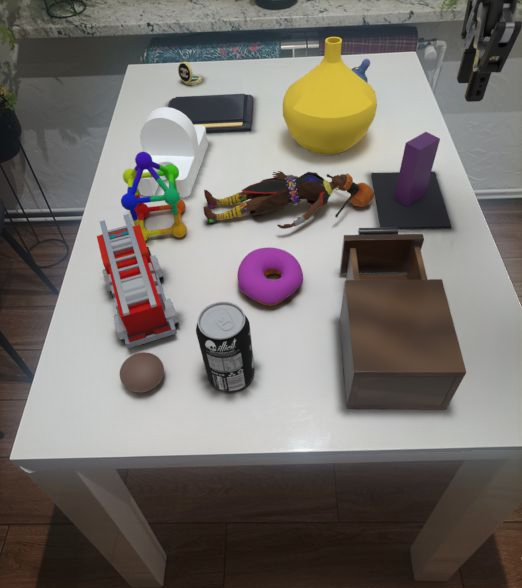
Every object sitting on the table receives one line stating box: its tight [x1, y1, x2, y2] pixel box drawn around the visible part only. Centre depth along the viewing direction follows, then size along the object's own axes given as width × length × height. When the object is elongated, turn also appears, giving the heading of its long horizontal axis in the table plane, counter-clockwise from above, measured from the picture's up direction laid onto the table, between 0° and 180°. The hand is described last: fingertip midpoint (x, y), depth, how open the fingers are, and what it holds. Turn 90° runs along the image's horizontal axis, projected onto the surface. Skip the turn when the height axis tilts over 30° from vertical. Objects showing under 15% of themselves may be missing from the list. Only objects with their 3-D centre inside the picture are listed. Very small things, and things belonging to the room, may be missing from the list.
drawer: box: [339, 227, 428, 280], centre depth 70 cm, size 18×12×7 cm, turn 178°
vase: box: [282, 36, 378, 156], centre depth 91 cm, size 18×18×19 cm
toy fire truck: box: [96, 213, 180, 349], centre depth 71 cm, size 9×19×10 cm, turn 20°
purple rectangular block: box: [394, 131, 441, 207], centre depth 82 cm, size 5×3×11 cm, turn 128°
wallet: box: [167, 93, 255, 134], centre depth 107 cm, size 20×2×15 cm
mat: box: [370, 171, 453, 230], centre depth 86 cm, size 12×16×1 cm
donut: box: [236, 247, 304, 307], centre depth 74 cm, size 10×10×5 cm
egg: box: [119, 351, 165, 393], centre depth 65 cm, size 6×6×4 cm
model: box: [120, 151, 188, 242], centre depth 80 cm, size 11×10×15 cm
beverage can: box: [195, 301, 255, 392], centre depth 61 cm, size 7×7×12 cm
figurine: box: [203, 170, 375, 230], centre depth 85 cm, size 16×8×30 cm
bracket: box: [137, 106, 209, 199], centre depth 92 cm, size 19×10×11 cm, turn 172°
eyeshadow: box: [177, 61, 203, 86], centre depth 116 cm, size 4×5×5 cm
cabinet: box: [339, 278, 467, 410], centre depth 62 cm, size 15×13×9 cm
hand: (468, 90), depth 63 cm, fingers open, 4 cm apart
